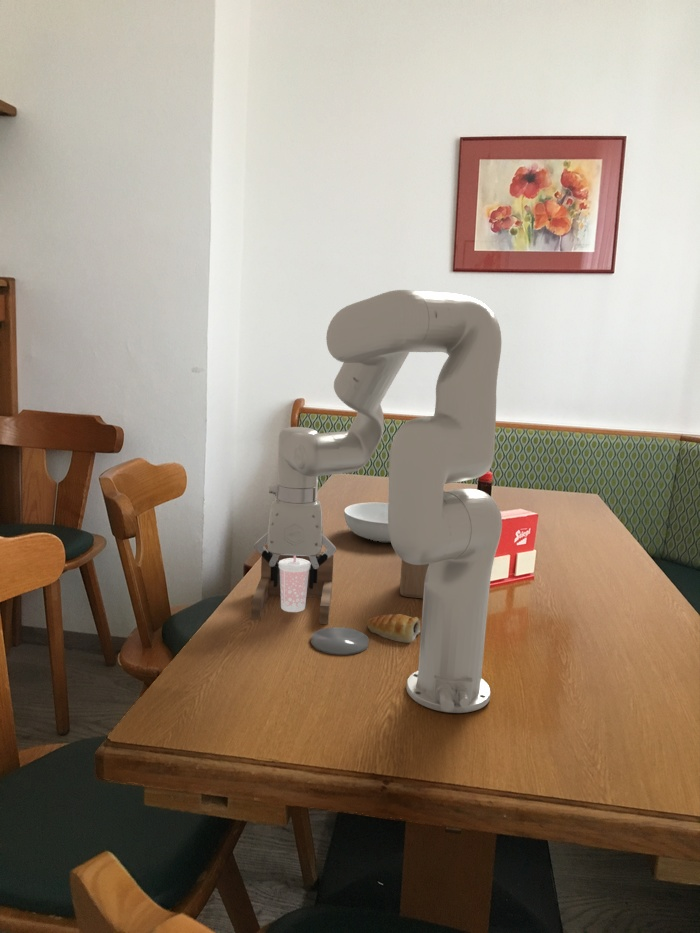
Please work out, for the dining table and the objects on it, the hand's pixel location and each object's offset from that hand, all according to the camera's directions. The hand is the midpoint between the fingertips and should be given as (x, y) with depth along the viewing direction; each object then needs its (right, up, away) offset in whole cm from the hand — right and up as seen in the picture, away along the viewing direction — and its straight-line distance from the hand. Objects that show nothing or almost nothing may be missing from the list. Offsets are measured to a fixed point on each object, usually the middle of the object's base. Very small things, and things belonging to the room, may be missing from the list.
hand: (293, 584), depth 143 cm
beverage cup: (0, -5, +1) cm, 5 cm away
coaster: (+9, -8, -13) cm, 18 cm away
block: (+27, -4, +13) cm, 30 cm away
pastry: (+19, -8, -9) cm, 22 cm away
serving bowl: (+19, +4, +50) cm, 54 cm away
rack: (0, -5, +1) cm, 5 cm away
